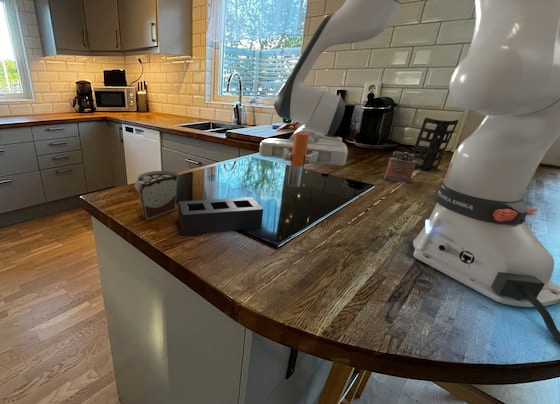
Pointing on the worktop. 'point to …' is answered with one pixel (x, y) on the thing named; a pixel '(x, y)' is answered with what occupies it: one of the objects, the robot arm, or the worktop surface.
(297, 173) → the orange cylinder
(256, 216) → the pen holder
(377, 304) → the worktop surface
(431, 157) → the holder
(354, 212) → the worktop surface
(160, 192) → the food container
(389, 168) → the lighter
